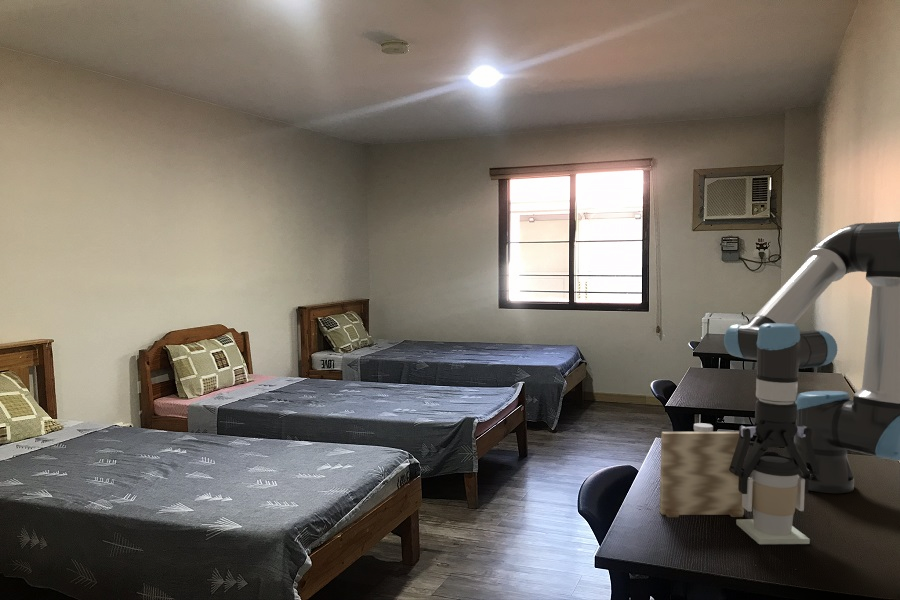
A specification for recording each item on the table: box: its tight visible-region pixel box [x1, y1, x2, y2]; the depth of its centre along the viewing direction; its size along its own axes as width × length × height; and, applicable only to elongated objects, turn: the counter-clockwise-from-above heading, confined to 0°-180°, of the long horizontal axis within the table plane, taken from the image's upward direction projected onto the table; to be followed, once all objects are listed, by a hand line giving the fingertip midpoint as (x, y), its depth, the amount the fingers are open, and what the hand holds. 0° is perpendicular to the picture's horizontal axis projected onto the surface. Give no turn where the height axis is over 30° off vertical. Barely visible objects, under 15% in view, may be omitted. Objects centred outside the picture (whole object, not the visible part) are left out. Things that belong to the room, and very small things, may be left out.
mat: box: [735, 518, 811, 545], centre depth 136 cm, size 10×10×1 cm
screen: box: [659, 431, 747, 518], centre depth 146 cm, size 18×4×18 cm, turn 91°
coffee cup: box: [750, 451, 800, 536], centre depth 136 cm, size 9×9×15 cm
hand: (772, 508), depth 136 cm, fingers open, 10 cm apart
